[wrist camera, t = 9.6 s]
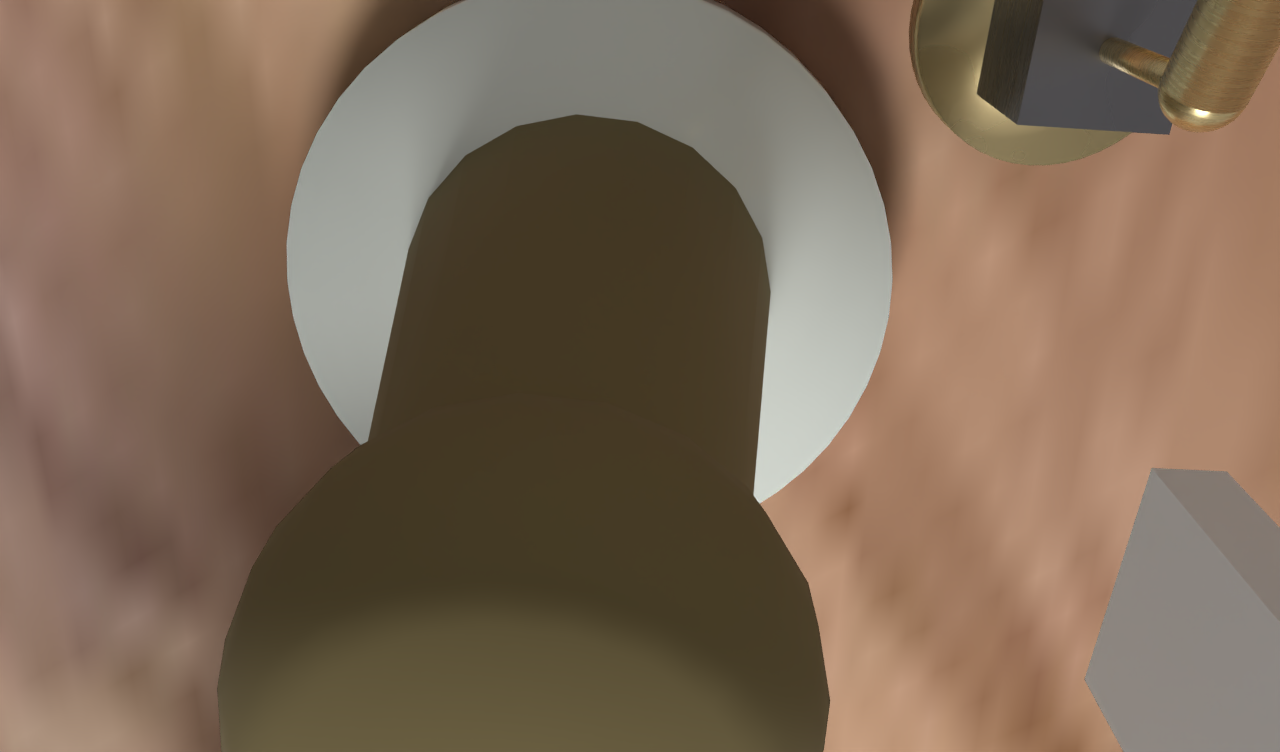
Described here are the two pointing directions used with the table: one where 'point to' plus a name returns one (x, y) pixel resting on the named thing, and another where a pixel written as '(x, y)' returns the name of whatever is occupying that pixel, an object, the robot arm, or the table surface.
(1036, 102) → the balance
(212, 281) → the table surface
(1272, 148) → the table surface
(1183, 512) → the robot arm
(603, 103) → the dish
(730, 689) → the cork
